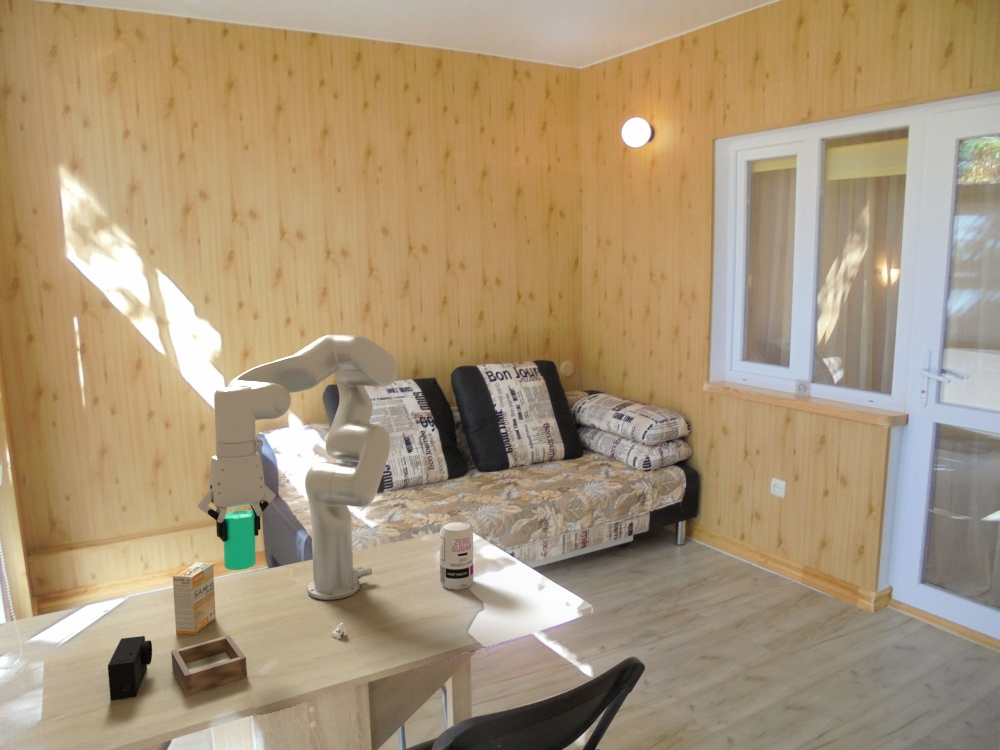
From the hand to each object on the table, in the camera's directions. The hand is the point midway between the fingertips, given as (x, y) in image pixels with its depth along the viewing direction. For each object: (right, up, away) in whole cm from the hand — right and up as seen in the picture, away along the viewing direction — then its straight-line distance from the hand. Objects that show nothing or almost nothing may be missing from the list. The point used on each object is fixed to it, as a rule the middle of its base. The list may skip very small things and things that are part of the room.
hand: (239, 535), depth 150 cm
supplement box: (-14, -23, +13) cm, 30 cm away
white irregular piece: (+17, -24, +9) cm, 31 cm away
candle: (0, -6, +1) cm, 6 cm away
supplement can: (+42, -20, +34) cm, 58 cm away
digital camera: (-17, -26, -10) cm, 32 cm away
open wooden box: (-3, -25, -6) cm, 26 cm away
